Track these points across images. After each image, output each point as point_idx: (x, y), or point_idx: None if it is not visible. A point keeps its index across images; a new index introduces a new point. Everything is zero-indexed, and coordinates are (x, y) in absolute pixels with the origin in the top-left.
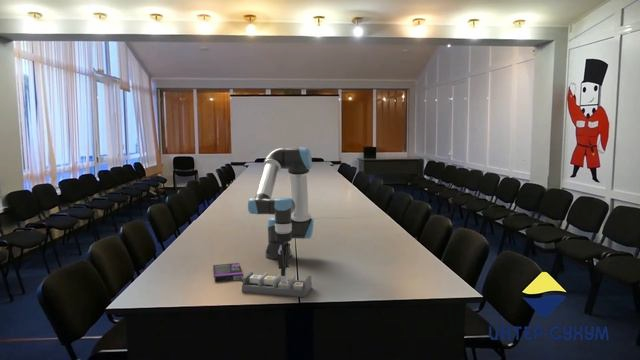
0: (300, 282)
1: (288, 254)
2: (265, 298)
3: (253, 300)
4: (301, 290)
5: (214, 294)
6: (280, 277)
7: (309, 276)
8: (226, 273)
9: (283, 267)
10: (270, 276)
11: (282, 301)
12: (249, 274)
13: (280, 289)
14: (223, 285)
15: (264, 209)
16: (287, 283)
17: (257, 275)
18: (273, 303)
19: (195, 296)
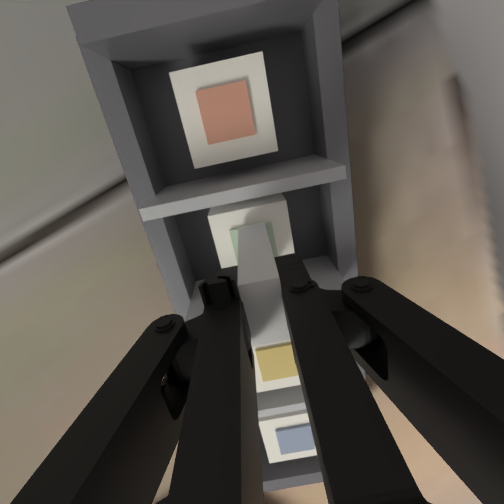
0: (185, 117)
1: (91, 471)
2: (411, 259)
3: (453, 300)
4: (336, 16)
5: (418, 464)
6: (197, 312)
7: (87, 20)
8: None
9: (389, 291)
10: (262, 366)
11: (435, 136)
12: (295, 476)
13: (352, 215)
14: (313, 488)
15: None
16: (259, 213)
17: (280, 437)
18: (478, 175)
19: (454, 498)
